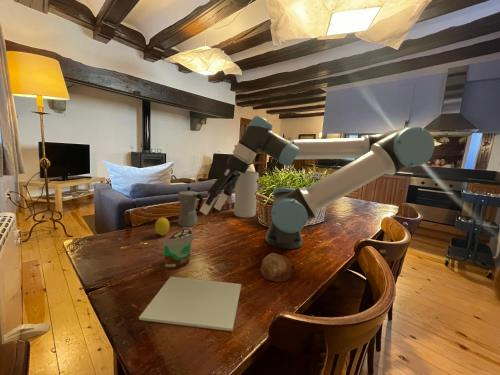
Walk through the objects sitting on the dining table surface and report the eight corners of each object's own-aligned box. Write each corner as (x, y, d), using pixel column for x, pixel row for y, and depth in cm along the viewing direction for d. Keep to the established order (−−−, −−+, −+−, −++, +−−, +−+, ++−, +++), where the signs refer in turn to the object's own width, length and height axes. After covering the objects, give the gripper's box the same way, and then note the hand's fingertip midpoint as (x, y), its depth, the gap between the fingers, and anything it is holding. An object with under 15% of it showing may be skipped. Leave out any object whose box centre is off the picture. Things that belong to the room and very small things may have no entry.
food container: (181, 274, 66) (182, 242, 65) (162, 271, 68) (162, 239, 66) (199, 256, 78) (200, 228, 77) (182, 253, 80) (183, 226, 78)
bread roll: (262, 275, 76) (254, 254, 75) (291, 263, 76) (283, 242, 75) (267, 293, 67) (257, 270, 65) (300, 280, 67) (291, 256, 65)
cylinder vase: (256, 213, 137) (260, 172, 133) (253, 219, 125) (256, 173, 121) (236, 211, 139) (239, 170, 135) (231, 216, 127) (233, 171, 123)
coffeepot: (170, 222, 110) (171, 185, 107) (185, 218, 118) (186, 184, 115) (194, 230, 102) (195, 190, 100) (208, 225, 110) (209, 188, 108)
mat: (241, 286, 63) (241, 284, 63) (232, 331, 47) (232, 328, 47) (170, 278, 64) (170, 276, 64) (139, 319, 48) (139, 317, 48)
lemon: (172, 234, 95) (172, 216, 94) (163, 239, 90) (163, 219, 89) (161, 232, 97) (161, 214, 96) (151, 236, 92) (151, 217, 91)
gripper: (240, 157, 92) (213, 202, 94) (221, 147, 67) (186, 208, 70) (255, 167, 91) (228, 212, 93) (242, 160, 66) (206, 221, 68)
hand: (210, 210), depth 81 cm, fingers open, 13 cm apart
